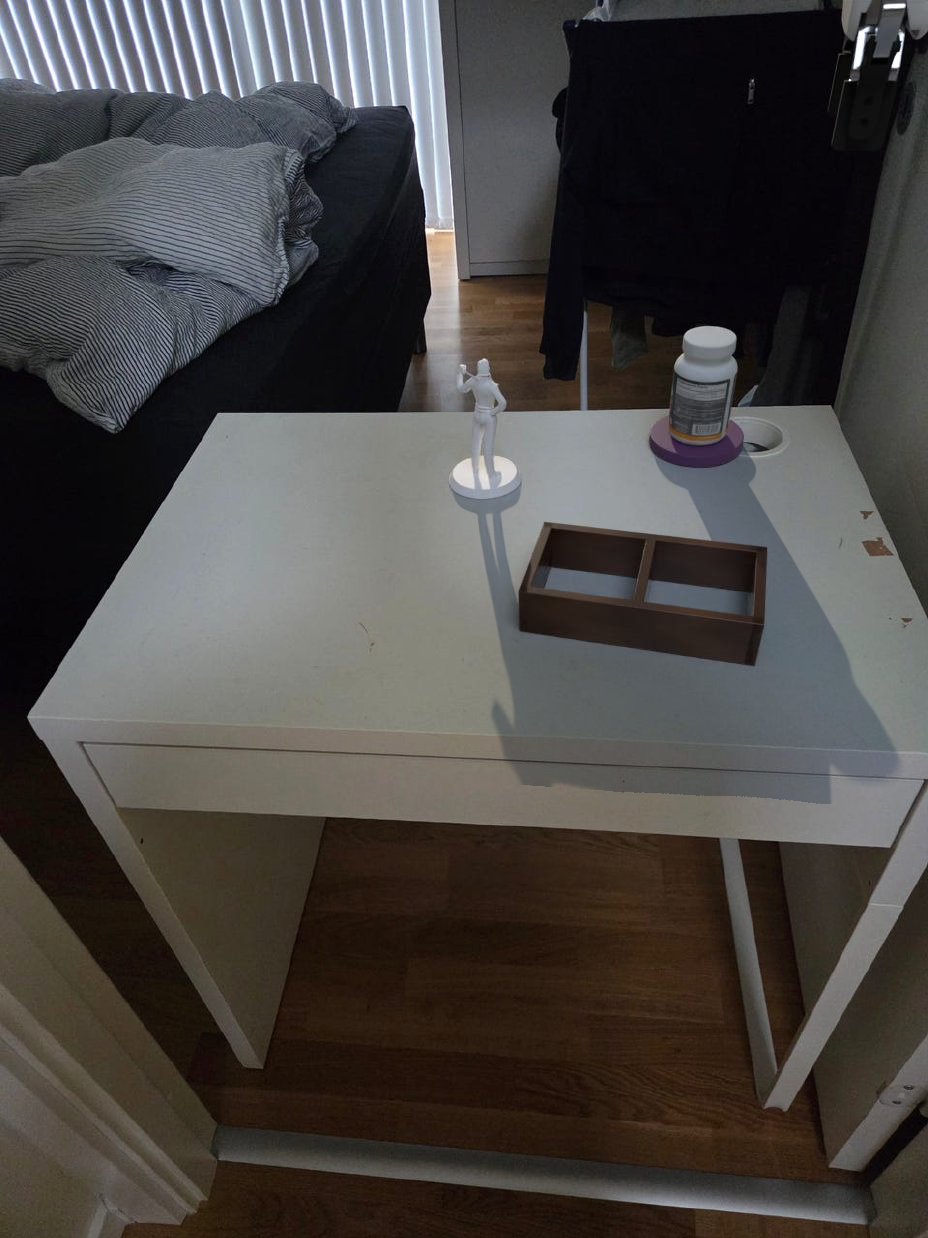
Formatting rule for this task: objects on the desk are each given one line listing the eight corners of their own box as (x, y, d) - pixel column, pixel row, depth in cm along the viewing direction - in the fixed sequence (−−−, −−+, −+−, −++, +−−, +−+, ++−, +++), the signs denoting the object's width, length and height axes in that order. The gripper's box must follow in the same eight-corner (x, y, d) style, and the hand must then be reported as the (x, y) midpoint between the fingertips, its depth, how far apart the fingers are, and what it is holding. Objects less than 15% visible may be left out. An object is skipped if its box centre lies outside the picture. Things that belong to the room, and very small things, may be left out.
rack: (758, 587, 67) (767, 546, 64) (754, 666, 60) (764, 624, 58) (544, 560, 71) (544, 521, 69) (519, 631, 65) (518, 591, 62)
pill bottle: (682, 414, 86) (693, 318, 79) (736, 428, 83) (752, 330, 76) (657, 438, 82) (666, 341, 76) (712, 454, 80) (727, 354, 73)
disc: (744, 425, 86) (746, 414, 85) (740, 472, 79) (741, 460, 79) (654, 418, 88) (655, 407, 87) (643, 462, 82) (644, 452, 81)
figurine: (536, 473, 81) (536, 355, 73) (489, 507, 78) (483, 386, 70) (480, 451, 85) (474, 336, 77) (433, 482, 81) (421, 365, 73)
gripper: (1026, -216, 42) (922, 165, 53) (973, -203, 54) (899, 104, 65) (863, -201, 44) (797, 164, 55) (848, -191, 56) (796, 106, 67)
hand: (852, 131), depth 60 cm, fingers open, 9 cm apart
